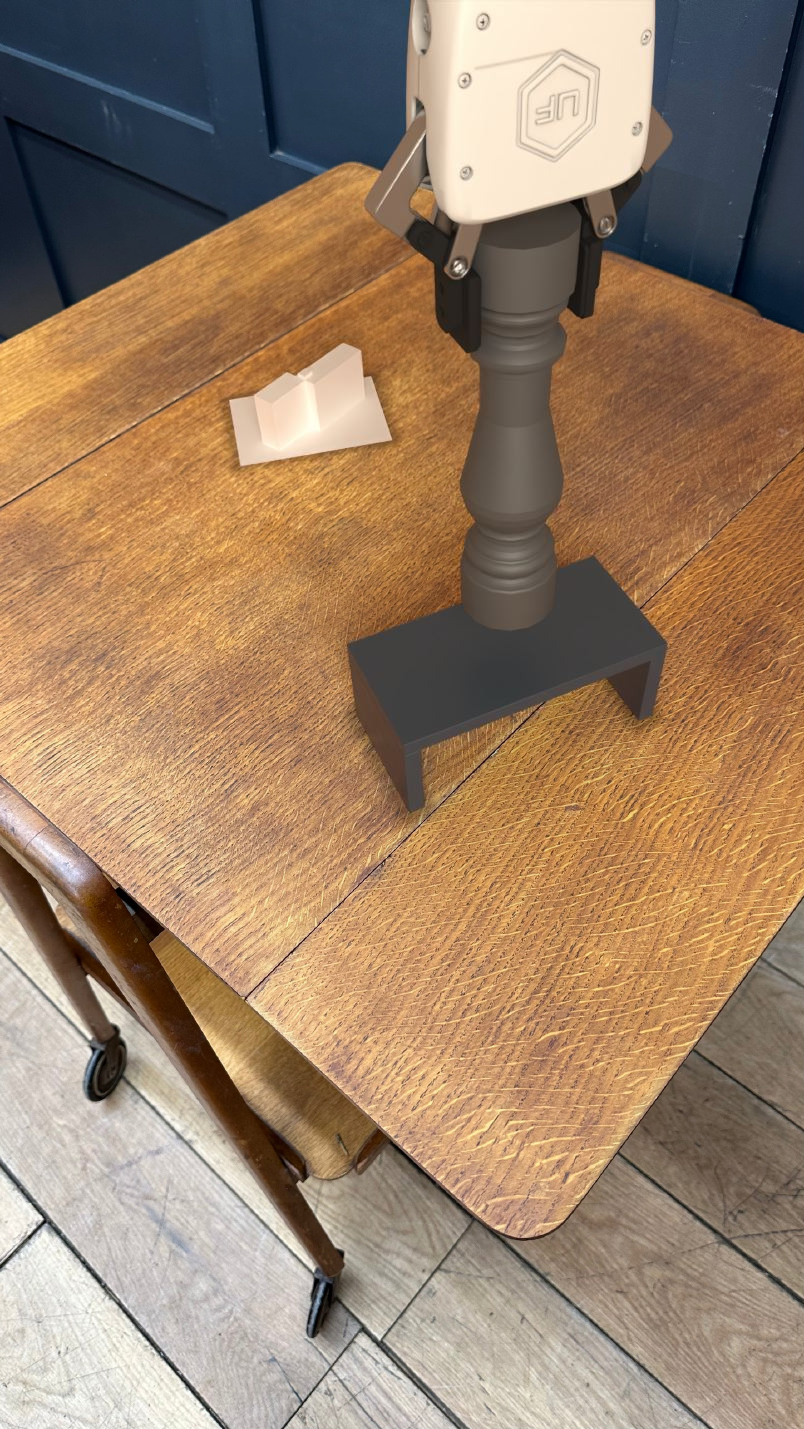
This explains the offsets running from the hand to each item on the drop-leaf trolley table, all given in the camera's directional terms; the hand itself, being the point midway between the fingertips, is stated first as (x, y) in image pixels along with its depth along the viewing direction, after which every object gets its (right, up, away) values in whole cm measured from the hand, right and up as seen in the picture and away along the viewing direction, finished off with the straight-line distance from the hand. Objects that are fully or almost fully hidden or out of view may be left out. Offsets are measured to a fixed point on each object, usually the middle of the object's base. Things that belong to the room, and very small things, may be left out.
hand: (517, 319), depth 53 cm
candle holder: (+1, -13, +16) cm, 20 cm away
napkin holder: (-15, +9, +50) cm, 53 cm away
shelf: (+2, -20, +25) cm, 33 cm away
